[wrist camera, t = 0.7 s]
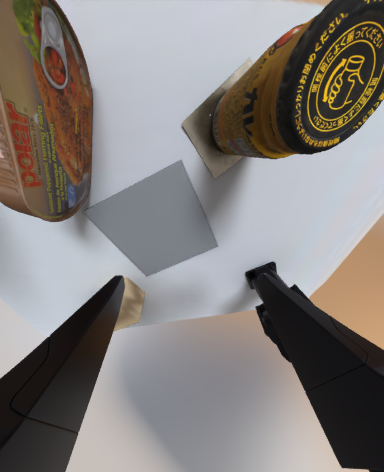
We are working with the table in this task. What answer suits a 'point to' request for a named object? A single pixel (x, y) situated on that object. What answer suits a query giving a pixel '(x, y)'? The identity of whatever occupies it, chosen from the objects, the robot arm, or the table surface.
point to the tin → (43, 112)
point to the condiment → (297, 90)
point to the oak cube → (130, 305)
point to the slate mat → (156, 220)
